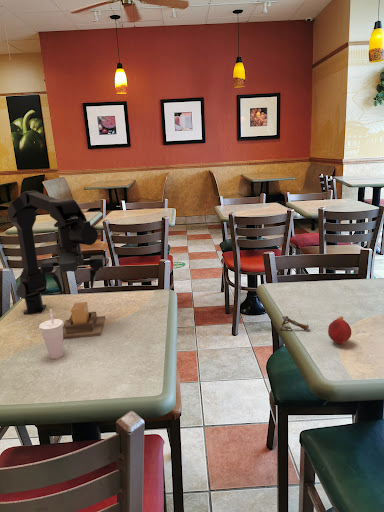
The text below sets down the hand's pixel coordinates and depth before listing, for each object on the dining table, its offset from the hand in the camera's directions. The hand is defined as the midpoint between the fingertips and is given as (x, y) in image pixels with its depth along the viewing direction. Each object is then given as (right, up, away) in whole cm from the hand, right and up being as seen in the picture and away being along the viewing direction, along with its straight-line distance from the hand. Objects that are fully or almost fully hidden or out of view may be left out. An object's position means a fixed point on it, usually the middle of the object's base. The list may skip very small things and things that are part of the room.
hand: (77, 289), depth 124 cm
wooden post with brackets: (+66, -11, -9) cm, 68 cm away
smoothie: (-2, -17, -14) cm, 22 cm away
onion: (+76, -13, -18) cm, 79 cm away
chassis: (+1, -13, +3) cm, 13 cm away
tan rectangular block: (+1, -12, +2) cm, 12 cm away
